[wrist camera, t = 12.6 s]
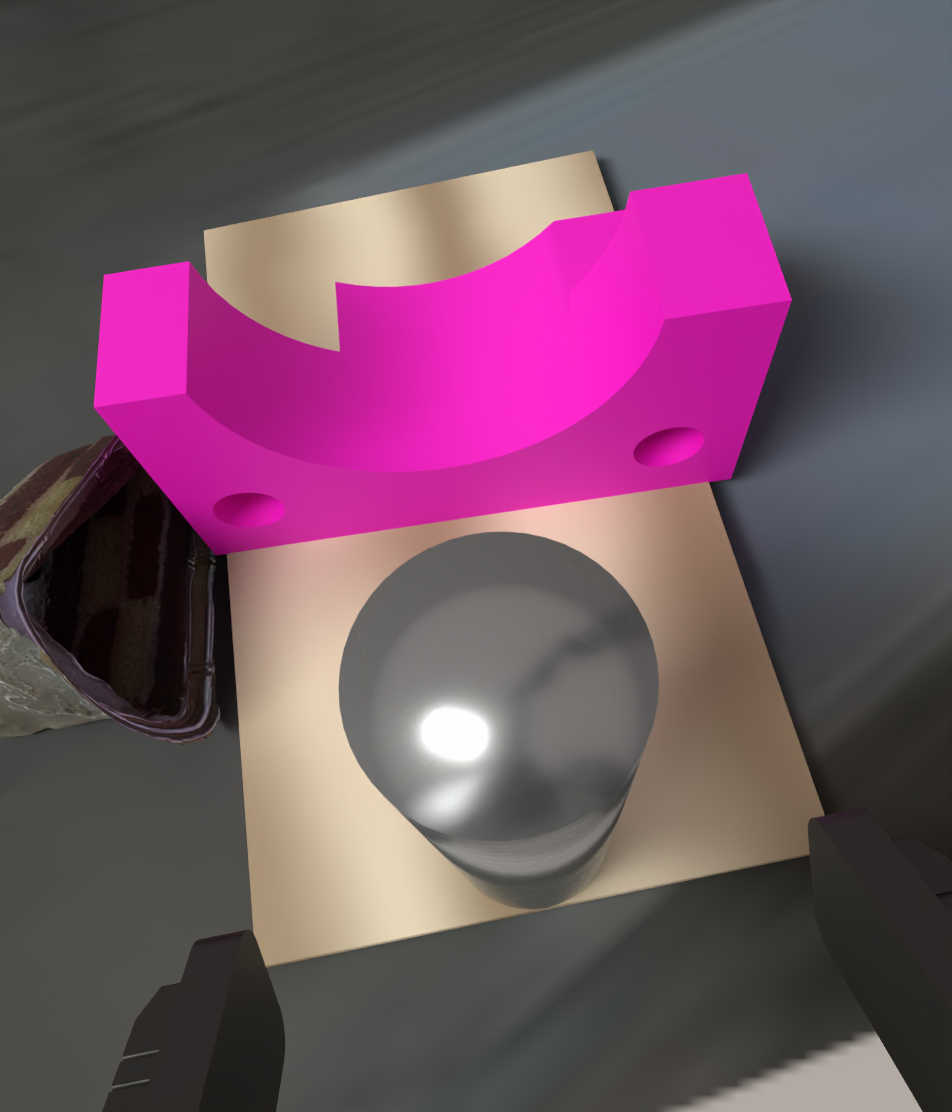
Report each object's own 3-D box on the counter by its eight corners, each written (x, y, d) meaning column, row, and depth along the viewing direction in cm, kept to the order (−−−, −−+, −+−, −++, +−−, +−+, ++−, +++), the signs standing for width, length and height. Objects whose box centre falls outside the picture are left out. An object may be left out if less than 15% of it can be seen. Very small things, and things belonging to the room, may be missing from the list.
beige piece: (592, 164, 32) (609, -282, 21) (829, 850, 22) (1124, 714, 10) (209, 243, 32) (15, -160, 21) (263, 968, 22) (-66, 961, 10)
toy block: (682, 309, 28) (721, 99, 21) (731, 478, 26) (792, 299, 19) (216, 381, 29) (110, 197, 22) (215, 555, 26) (93, 407, 19)
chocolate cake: (29, 415, 30) (-333, 531, 19) (202, 350, 28) (-93, 439, 17) (149, 659, 33) (-109, 882, 22) (315, 616, 31) (123, 840, 20)
